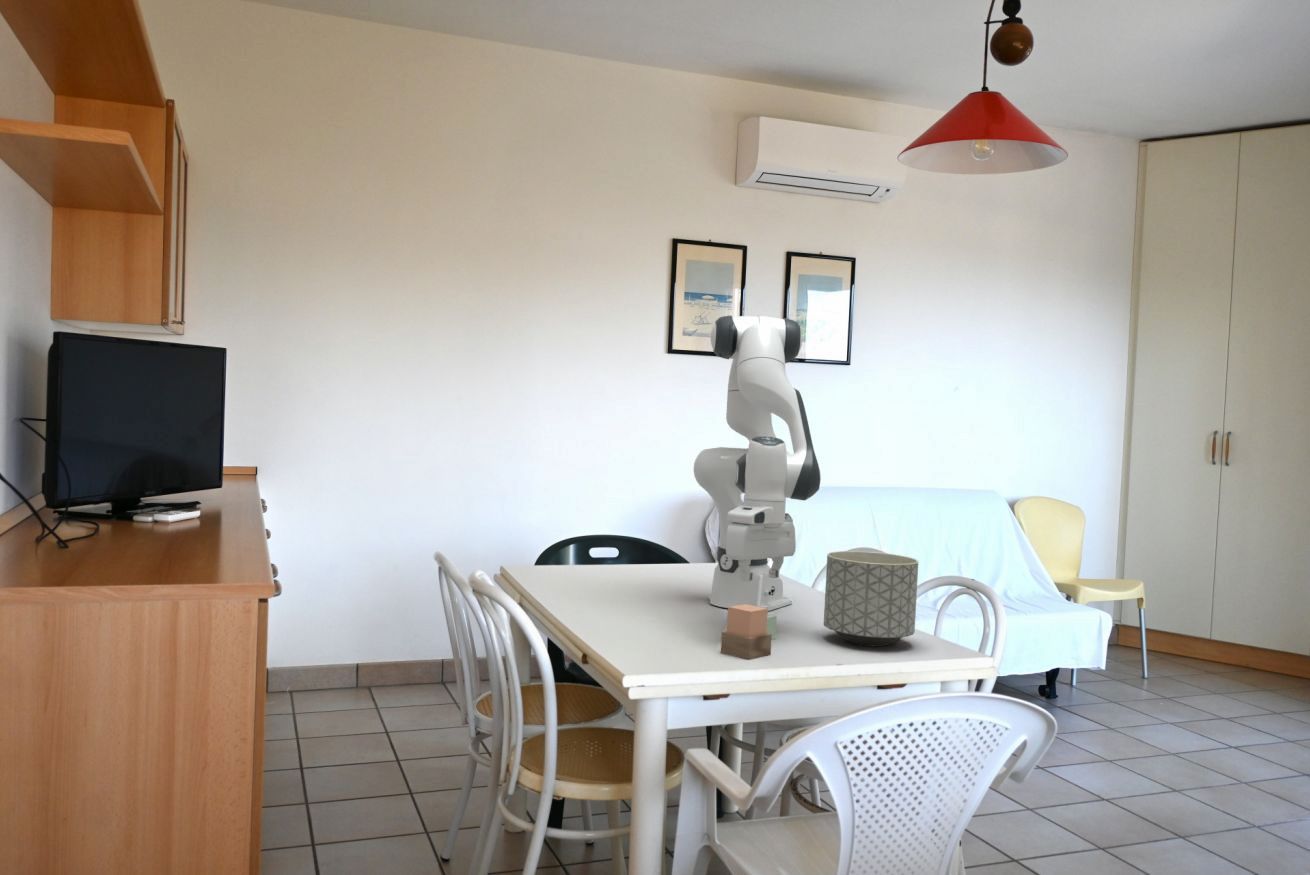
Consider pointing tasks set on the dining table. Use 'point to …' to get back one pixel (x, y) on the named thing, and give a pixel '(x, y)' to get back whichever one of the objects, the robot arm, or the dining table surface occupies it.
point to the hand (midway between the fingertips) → (760, 579)
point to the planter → (870, 596)
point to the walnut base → (746, 645)
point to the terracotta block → (747, 620)
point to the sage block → (771, 625)
